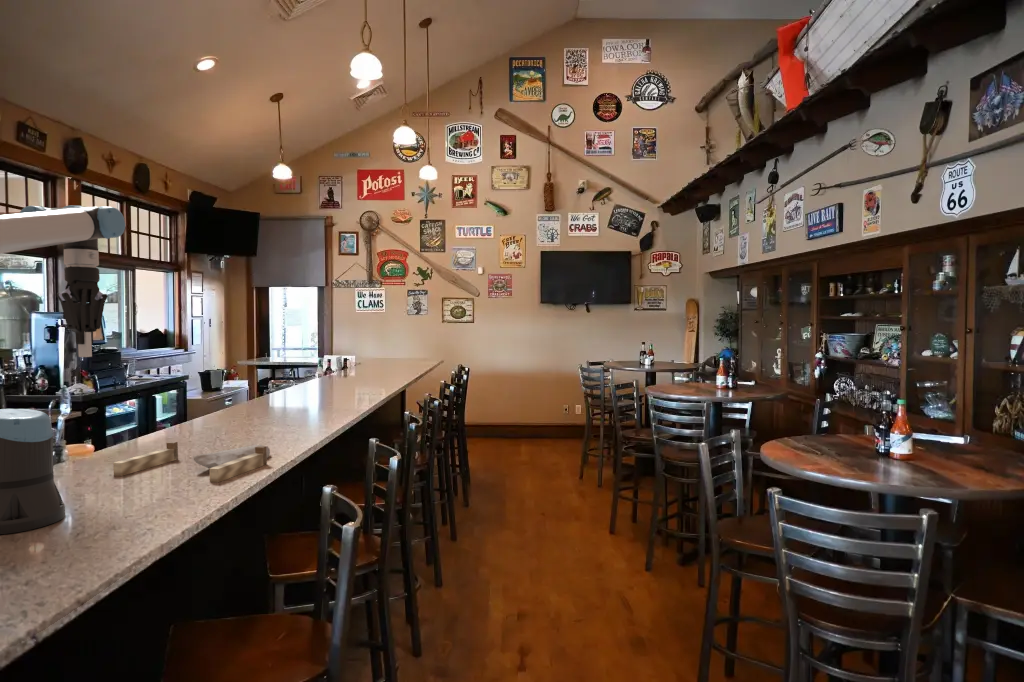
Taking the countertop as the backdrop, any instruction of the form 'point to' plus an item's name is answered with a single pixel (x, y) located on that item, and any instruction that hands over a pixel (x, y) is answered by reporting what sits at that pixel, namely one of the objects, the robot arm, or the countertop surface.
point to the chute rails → (171, 454)
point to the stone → (226, 456)
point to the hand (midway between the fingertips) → (85, 356)
